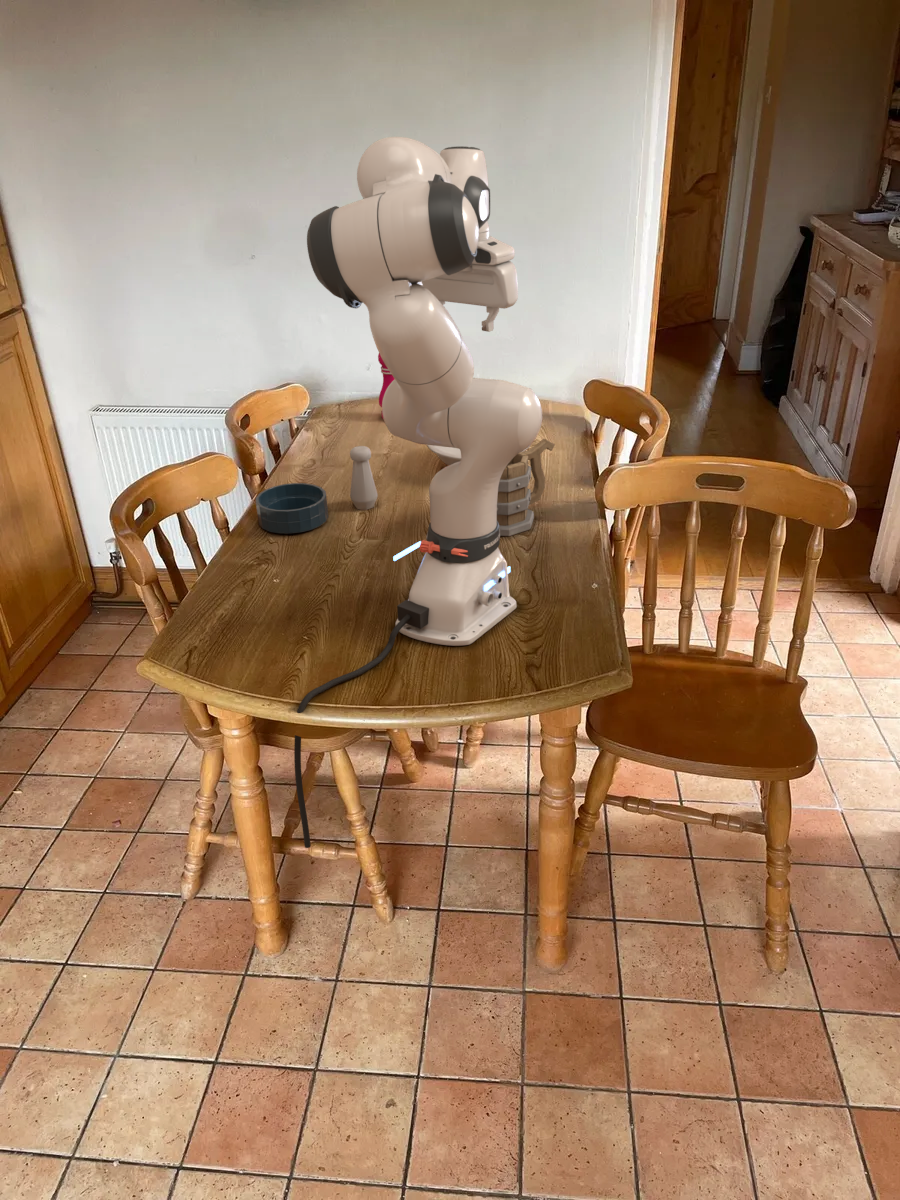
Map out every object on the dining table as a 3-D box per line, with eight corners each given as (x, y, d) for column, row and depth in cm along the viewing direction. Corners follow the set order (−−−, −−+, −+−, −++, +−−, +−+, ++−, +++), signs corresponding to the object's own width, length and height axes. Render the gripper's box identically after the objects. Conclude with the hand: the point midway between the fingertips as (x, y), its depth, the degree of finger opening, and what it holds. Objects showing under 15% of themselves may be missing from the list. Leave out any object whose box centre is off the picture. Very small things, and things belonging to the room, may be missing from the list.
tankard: (494, 542, 180) (493, 469, 172) (457, 519, 189) (455, 450, 182) (573, 516, 189) (576, 446, 182) (535, 496, 198) (536, 429, 191)
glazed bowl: (304, 540, 183) (301, 515, 180) (245, 529, 188) (241, 504, 185) (341, 512, 194) (338, 488, 191) (284, 502, 199) (281, 479, 196)
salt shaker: (374, 512, 194) (369, 453, 187) (347, 510, 195) (342, 452, 188) (381, 501, 198) (377, 443, 192) (355, 499, 200) (350, 442, 193)
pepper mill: (412, 415, 246) (408, 339, 236) (396, 423, 241) (392, 346, 231) (390, 411, 250) (385, 336, 240) (374, 419, 245) (368, 343, 235)
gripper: (406, 246, 166) (410, 325, 173) (503, 255, 155) (503, 338, 162) (426, 241, 170) (429, 317, 177) (522, 249, 160) (522, 330, 167)
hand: (465, 327), depth 170 cm, fingers open, 8 cm apart
